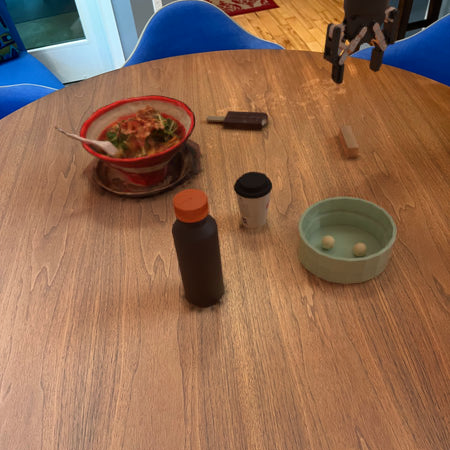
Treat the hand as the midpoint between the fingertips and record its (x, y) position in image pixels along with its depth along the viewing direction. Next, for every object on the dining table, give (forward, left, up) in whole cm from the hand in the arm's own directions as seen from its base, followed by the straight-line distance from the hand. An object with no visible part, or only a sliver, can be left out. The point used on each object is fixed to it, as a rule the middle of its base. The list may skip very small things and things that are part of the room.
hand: (356, 76), depth 91 cm
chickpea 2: (+4, +30, -17) cm, 35 cm away
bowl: (+6, +29, -18) cm, 34 cm away
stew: (+44, 0, -18) cm, 48 cm away
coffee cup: (+21, +19, -18) cm, 34 cm away
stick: (-2, -4, -18) cm, 18 cm away
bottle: (+31, +36, -18) cm, 51 cm away
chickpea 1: (+9, +28, -17) cm, 34 cm away
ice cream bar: (+22, -18, -18) cm, 34 cm away
